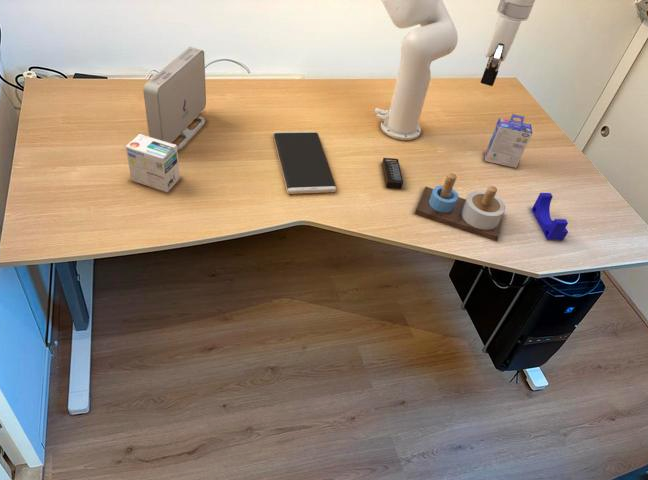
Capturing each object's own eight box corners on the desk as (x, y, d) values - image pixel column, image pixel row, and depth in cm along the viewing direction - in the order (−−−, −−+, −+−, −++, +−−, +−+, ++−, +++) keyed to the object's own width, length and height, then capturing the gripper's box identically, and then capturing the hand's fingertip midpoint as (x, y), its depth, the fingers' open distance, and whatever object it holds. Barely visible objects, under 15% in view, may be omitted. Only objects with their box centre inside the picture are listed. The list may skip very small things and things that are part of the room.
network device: (171, 159, 148) (164, 92, 133) (142, 150, 149) (132, 82, 135) (213, 114, 165) (211, 50, 150) (187, 106, 166) (182, 42, 152)
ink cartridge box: (516, 158, 168) (535, 116, 157) (517, 168, 164) (536, 127, 154) (484, 151, 169) (501, 109, 158) (484, 161, 165) (502, 119, 154)
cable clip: (563, 240, 144) (573, 223, 140) (547, 239, 144) (557, 222, 139) (546, 210, 152) (555, 193, 148) (531, 209, 152) (540, 192, 147)
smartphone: (316, 135, 164) (317, 130, 163) (336, 193, 146) (337, 188, 145) (272, 136, 161) (273, 131, 160) (287, 195, 144) (288, 190, 142)
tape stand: (414, 213, 145) (425, 180, 136) (424, 190, 152) (435, 157, 144) (496, 241, 141) (512, 208, 133) (502, 215, 148) (517, 183, 140)
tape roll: (426, 207, 144) (430, 197, 142) (432, 193, 149) (435, 182, 146) (451, 215, 143) (455, 205, 141) (456, 200, 148) (460, 190, 145)
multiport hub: (386, 188, 150) (387, 181, 149) (381, 164, 158) (383, 157, 156) (401, 189, 151) (403, 182, 149) (396, 165, 158) (398, 158, 157)
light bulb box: (180, 178, 143) (178, 144, 135) (167, 193, 139) (164, 158, 131) (144, 167, 145) (139, 132, 137) (130, 181, 140) (124, 145, 132)
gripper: (503, -8, 135) (480, 58, 147) (493, 16, 123) (469, 86, 136) (533, -1, 134) (507, 66, 146) (526, 25, 122) (499, 95, 135)
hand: (489, 76), depth 141 cm, fingers open, 9 cm apart
